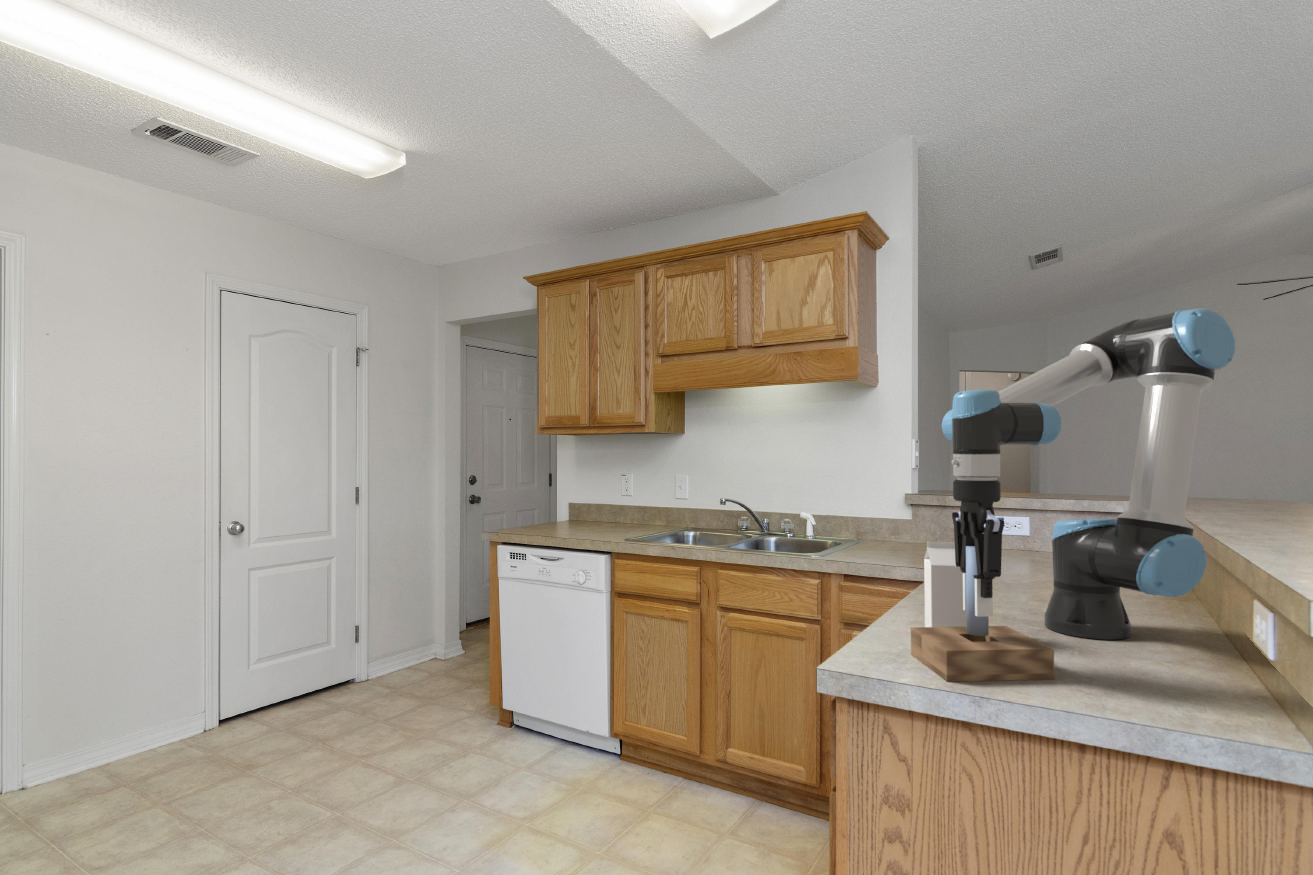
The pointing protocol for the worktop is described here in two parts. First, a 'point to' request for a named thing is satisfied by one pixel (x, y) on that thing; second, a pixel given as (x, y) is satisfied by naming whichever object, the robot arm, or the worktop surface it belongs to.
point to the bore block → (982, 654)
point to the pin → (973, 598)
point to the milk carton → (943, 587)
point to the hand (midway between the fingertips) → (977, 612)
